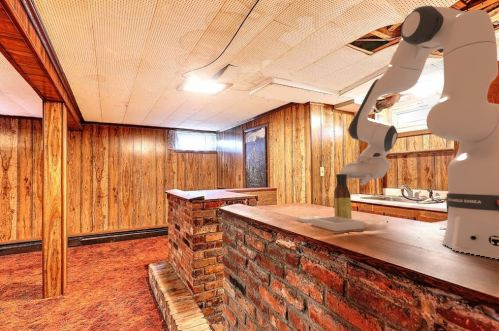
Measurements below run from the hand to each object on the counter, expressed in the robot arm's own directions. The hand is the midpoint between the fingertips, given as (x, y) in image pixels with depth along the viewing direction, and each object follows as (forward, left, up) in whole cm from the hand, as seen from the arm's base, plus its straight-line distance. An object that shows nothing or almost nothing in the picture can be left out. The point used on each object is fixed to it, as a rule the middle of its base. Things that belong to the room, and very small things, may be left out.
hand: (352, 183), depth 102 cm
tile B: (+5, +19, -15) cm, 25 cm away
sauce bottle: (0, +5, -16) cm, 17 cm away
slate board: (+6, +16, -16) cm, 24 cm away
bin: (-8, +16, -16) cm, 24 cm away
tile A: (+5, +13, -15) cm, 21 cm away
